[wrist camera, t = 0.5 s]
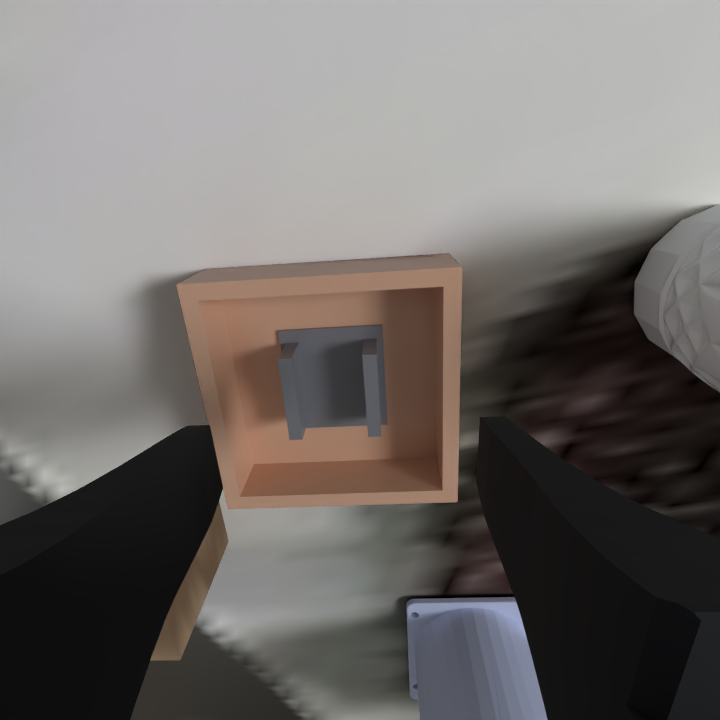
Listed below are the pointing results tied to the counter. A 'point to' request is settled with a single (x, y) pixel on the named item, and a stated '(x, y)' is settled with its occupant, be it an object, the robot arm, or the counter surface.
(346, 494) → the shallow square frame box
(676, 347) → the white cup
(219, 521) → the tall brown plank
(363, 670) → the counter surface
